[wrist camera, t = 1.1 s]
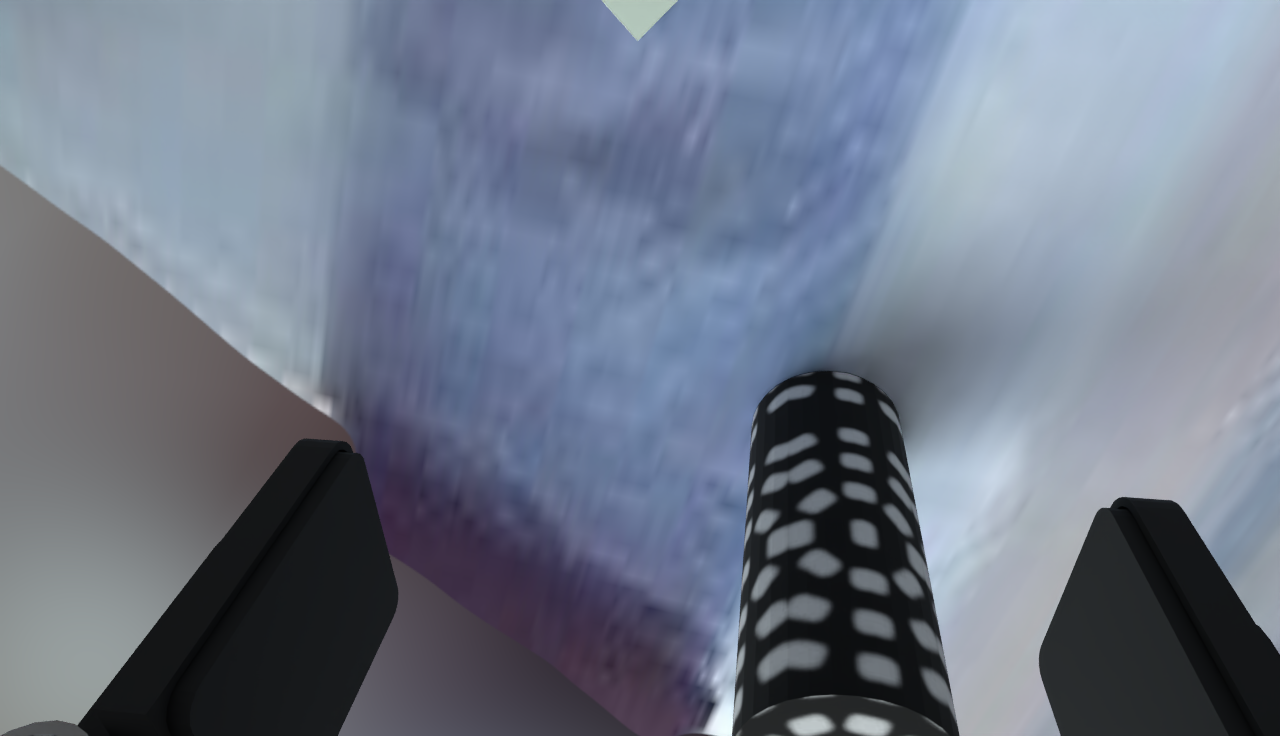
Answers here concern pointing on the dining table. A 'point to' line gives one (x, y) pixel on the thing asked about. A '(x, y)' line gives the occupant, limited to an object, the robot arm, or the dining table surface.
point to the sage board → (639, 13)
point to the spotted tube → (835, 573)
